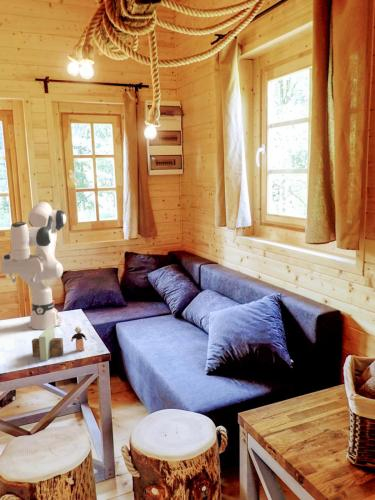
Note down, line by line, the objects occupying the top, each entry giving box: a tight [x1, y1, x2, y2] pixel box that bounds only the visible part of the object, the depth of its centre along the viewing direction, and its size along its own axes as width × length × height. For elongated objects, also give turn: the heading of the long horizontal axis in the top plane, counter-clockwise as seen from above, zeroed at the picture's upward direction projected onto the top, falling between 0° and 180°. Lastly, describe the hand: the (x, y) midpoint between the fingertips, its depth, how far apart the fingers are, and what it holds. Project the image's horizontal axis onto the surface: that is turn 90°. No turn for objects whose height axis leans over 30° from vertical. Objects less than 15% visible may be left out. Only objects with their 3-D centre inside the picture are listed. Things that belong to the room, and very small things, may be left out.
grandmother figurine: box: [70, 325, 88, 353], centre depth 213 cm, size 8×4×13 cm, turn 117°
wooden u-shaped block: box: [31, 337, 65, 357], centre depth 209 cm, size 14×3×8 cm, turn 91°
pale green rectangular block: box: [38, 327, 56, 362], centre depth 209 cm, size 14×3×12 cm, turn 1°
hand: (23, 281), depth 216 cm, fingers open, 8 cm apart
